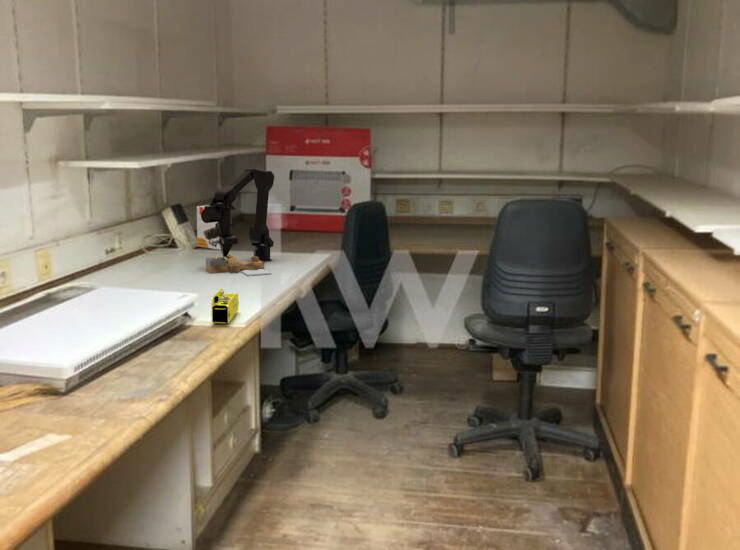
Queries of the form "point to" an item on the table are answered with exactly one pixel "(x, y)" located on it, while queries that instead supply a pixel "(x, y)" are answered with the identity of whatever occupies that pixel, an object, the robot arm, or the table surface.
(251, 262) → the plane body
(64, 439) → the table surface
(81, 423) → the table surface
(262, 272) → the mat
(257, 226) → the robot arm
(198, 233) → the hard drive box
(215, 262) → the cap plate
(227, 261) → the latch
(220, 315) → the yellow toy chassis
